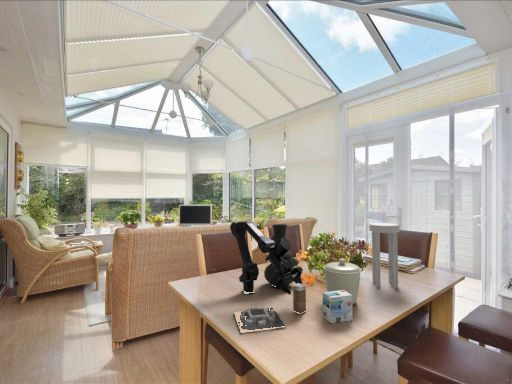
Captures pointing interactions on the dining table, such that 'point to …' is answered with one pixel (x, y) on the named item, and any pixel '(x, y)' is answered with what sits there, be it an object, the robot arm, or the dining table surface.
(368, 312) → the dining table surface
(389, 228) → the stool
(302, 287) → the tan tall block
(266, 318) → the grey square base plate
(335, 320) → the light bulb box
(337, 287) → the canister
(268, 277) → the vase
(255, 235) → the robot arm
